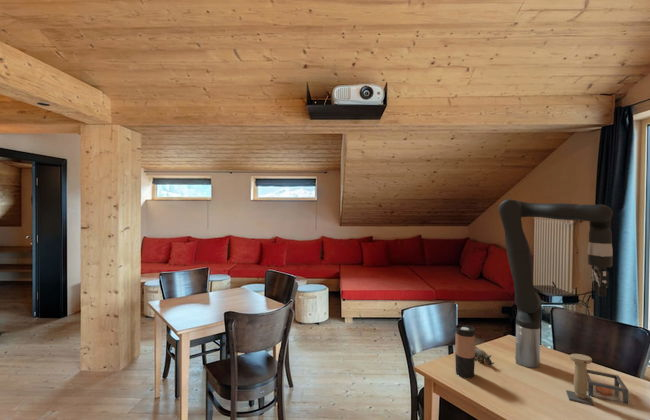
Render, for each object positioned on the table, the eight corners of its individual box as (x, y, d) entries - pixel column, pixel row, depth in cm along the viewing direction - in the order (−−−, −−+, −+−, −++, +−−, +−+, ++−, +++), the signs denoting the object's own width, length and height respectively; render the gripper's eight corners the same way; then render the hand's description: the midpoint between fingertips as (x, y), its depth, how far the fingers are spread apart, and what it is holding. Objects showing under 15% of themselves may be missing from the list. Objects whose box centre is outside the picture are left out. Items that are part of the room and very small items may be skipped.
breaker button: (597, 392, 119) (597, 388, 119) (593, 385, 124) (593, 382, 124) (614, 396, 117) (614, 392, 117) (610, 389, 121) (610, 385, 121)
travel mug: (466, 380, 128) (466, 332, 128) (451, 372, 135) (451, 326, 135) (478, 376, 132) (479, 329, 132) (463, 367, 139) (463, 323, 138)
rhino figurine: (490, 370, 137) (490, 356, 136) (465, 356, 149) (465, 343, 149) (497, 368, 138) (497, 355, 138) (472, 354, 151) (472, 342, 151)
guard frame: (589, 395, 118) (589, 381, 118) (582, 381, 128) (582, 368, 128) (628, 404, 113) (628, 390, 113) (618, 388, 123) (618, 375, 122)
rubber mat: (569, 400, 116) (569, 398, 116) (566, 391, 121) (566, 390, 121) (593, 405, 112) (593, 404, 112) (589, 396, 117) (589, 395, 117)
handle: (594, 401, 114) (595, 360, 114) (575, 400, 115) (575, 359, 114) (585, 393, 119) (585, 354, 118) (566, 392, 119) (567, 353, 119)
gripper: (584, 250, 135) (583, 288, 135) (592, 255, 122) (591, 297, 122) (606, 252, 131) (606, 290, 131) (618, 257, 118) (617, 299, 119)
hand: (599, 293), depth 127 cm, fingers open, 8 cm apart
